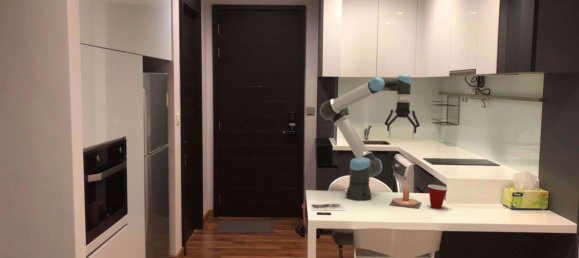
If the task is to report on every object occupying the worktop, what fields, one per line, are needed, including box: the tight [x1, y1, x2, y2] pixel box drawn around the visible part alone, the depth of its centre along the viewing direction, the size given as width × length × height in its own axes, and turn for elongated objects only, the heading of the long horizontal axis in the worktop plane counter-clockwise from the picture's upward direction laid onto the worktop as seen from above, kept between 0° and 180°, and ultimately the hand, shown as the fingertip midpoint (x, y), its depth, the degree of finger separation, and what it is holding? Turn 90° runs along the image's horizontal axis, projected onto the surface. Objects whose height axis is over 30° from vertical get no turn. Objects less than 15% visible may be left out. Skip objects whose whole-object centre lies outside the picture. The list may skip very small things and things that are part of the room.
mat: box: [388, 199, 422, 210], centre depth 284 cm, size 16×15×1 cm
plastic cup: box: [427, 184, 448, 210], centre depth 278 cm, size 11×11×12 cm
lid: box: [392, 184, 419, 206], centre depth 283 cm, size 14×14×10 cm
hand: (401, 137), depth 293 cm, fingers open, 13 cm apart
